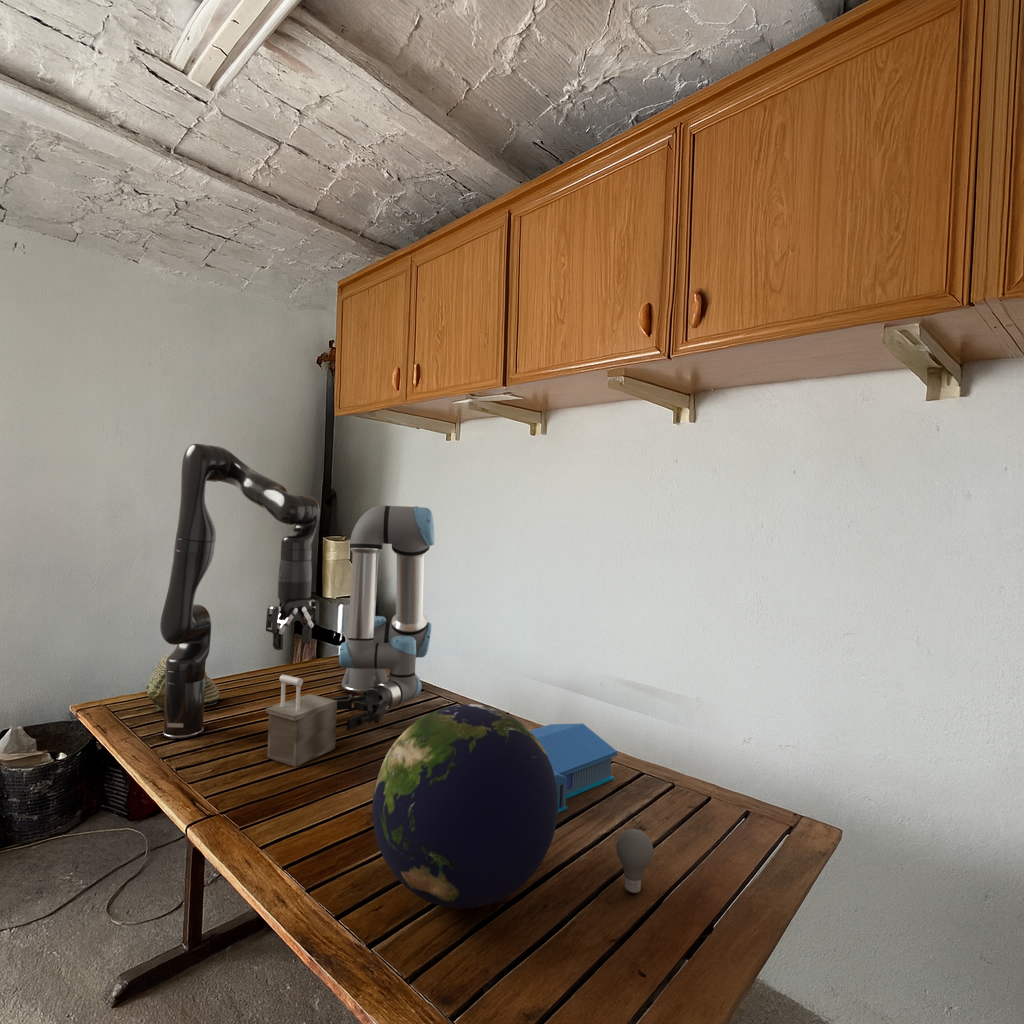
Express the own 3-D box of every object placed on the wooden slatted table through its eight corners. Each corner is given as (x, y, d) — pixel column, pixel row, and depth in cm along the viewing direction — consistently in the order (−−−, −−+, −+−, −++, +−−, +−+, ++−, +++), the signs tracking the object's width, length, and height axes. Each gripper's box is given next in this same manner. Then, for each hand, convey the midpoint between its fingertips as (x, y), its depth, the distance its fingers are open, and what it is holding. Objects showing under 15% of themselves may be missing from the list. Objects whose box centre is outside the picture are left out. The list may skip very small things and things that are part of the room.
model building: (497, 839, 120) (500, 786, 120) (424, 791, 138) (425, 745, 138) (625, 783, 146) (627, 740, 146) (549, 749, 164) (551, 711, 164)
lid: (294, 720, 147) (296, 682, 147) (266, 712, 151) (267, 676, 151) (337, 705, 159) (338, 670, 159) (309, 698, 163) (310, 663, 163)
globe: (328, 919, 95) (336, 721, 95) (427, 827, 123) (434, 674, 122) (512, 985, 84) (522, 760, 83) (576, 867, 112) (584, 698, 111)
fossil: (144, 707, 182) (145, 655, 182) (212, 696, 194) (213, 647, 194) (151, 716, 175) (153, 662, 175) (221, 703, 188) (223, 653, 188)
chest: (295, 767, 148) (297, 720, 147) (267, 757, 152) (268, 712, 152) (335, 748, 159) (337, 705, 159) (307, 740, 164) (309, 698, 163)
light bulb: (610, 879, 108) (613, 822, 108) (644, 879, 109) (647, 822, 109) (619, 902, 102) (622, 840, 102) (655, 901, 103) (658, 840, 103)
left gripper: (282, 583, 143) (280, 654, 143) (328, 577, 155) (325, 643, 156) (259, 579, 146) (257, 649, 147) (306, 574, 159) (303, 639, 159)
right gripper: (416, 719, 175) (365, 744, 156) (346, 702, 186) (291, 724, 167) (417, 692, 175) (366, 714, 156) (347, 677, 186) (292, 695, 167)
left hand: (292, 646), depth 151 cm, fingers open, 8 cm apart
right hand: (327, 719), depth 161 cm, fingers open, 13 cm apart
